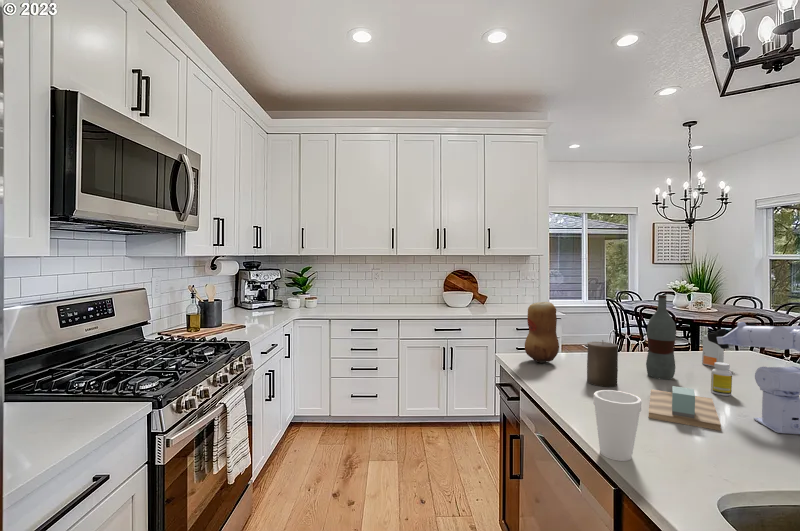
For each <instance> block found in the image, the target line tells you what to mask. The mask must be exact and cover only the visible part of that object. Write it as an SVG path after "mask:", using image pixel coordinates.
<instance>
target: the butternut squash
mask: <svg viewBox="0 0 800 531" xmlns="http://www.w3.org/2000/svg"><path fill="white" fill-rule="evenodd" d="M557 321H558V320H557V308H556V306H555V305H554V304H553V303H552V302H550V301H540V302H539V301H538V302H535V303H531V304H530V305H529V306H528V308H527V326H528V329H529V330H528V334H527V336H526V337H525V341H524V351H525V353H526V355H527V356H528V357H530V358H531V359H532V360H533V361H535V362H537V363H540V364H541V363H543V364H544V363H549V362H552V361H553V360H554V359H556V357H557V355H558V353H559V350H560V344H559V338H558V336H557V325H558V324H557Z"/></svg>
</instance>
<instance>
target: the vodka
mask: <svg viewBox="0 0 800 531" xmlns="http://www.w3.org/2000/svg"><path fill="white" fill-rule="evenodd" d="M657 296H658V298H657V300H658V302H657V310H656V311H655V313H654V314H653V315H652V316H651V317H650V319H649V320H648V323H647V329H646V333H647V334H646V335H647V350H648V351H647V354H646V355H647V356H646V362H645V366H646V373H647V376H649V377H651V376H652V377H651V378H654V377H655V378H654V379H658V378H660V379H659V380H673V379H674V376H675V372H676V369H677V368H676V359H675V344H676V337H677V328H676V327H677V326H676V321H674V320H673V318H672V316H671V315H670V313H669V311H668V310H667V295H666V294H658V295H657Z"/></svg>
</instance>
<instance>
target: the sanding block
mask: <svg viewBox="0 0 800 531" xmlns="http://www.w3.org/2000/svg"><path fill="white" fill-rule="evenodd" d="M671 388H672V389H671V390H672V391H671V392H672V415H677V416H683V417H689V418H694V419H695V396H696V394H695V389H694V388H689V387H682V386H674V385H672V387H671Z"/></svg>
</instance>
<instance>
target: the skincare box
mask: <svg viewBox="0 0 800 531" xmlns="http://www.w3.org/2000/svg"><path fill="white" fill-rule="evenodd" d="M724 357H725V349H722V348H721V347H720V346H719V345H717V344H715V343H713V342H710V341H709V340H708V337H707V334H705V335H703V336H702V358H701V359H702V360H701V361H702V362H701V364H702V365H705V366H709V367H712V368H715V367H714V363H715V362H722V363H725V362H724V359H725V358H724Z"/></svg>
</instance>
